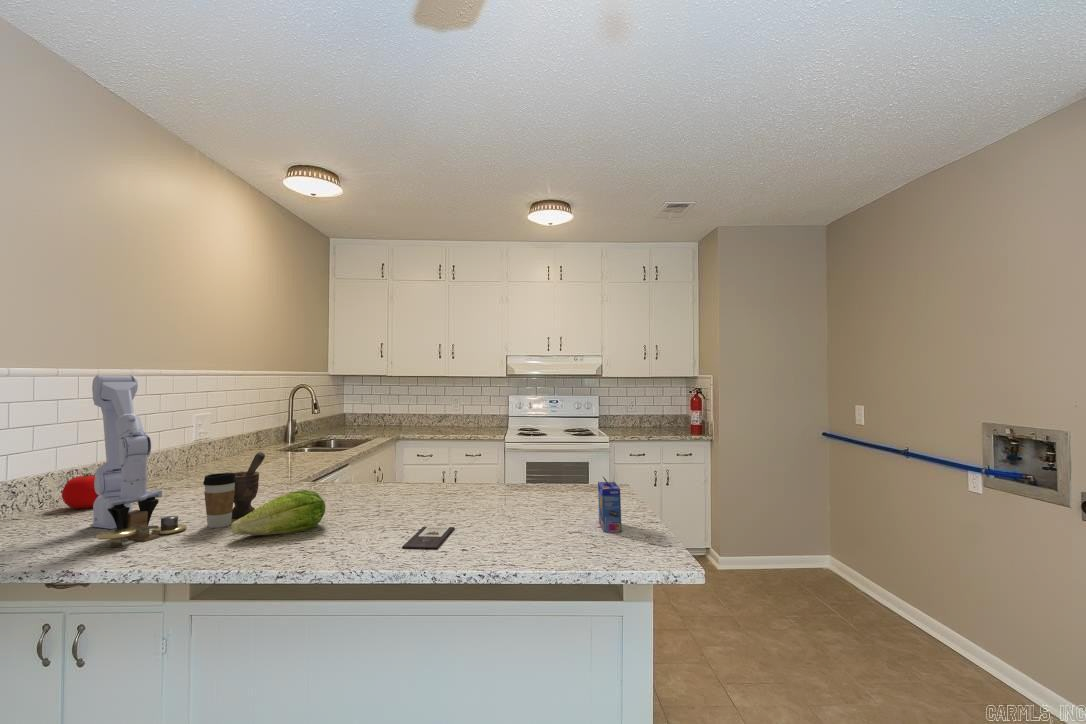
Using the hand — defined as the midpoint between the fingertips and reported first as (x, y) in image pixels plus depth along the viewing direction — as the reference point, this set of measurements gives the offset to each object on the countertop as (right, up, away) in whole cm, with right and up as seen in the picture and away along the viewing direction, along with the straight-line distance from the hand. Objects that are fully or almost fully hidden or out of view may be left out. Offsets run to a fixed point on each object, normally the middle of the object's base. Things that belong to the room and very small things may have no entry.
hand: (133, 528), depth 148 cm
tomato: (-38, -2, +30) cm, 49 cm away
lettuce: (+39, -2, +2) cm, 40 cm away
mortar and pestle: (+21, -2, +19) cm, 29 cm away
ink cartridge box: (+132, -2, +6) cm, 133 cm away
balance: (+6, -1, -4) cm, 7 cm away
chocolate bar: (+83, -2, -4) cm, 83 cm away
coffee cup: (+19, -2, +9) cm, 21 cm away
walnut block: (0, -2, 0) cm, 2 cm away
